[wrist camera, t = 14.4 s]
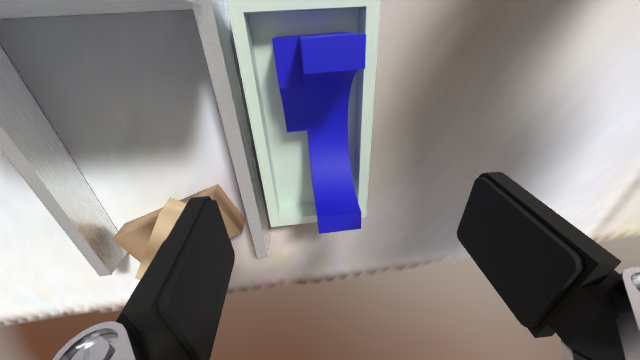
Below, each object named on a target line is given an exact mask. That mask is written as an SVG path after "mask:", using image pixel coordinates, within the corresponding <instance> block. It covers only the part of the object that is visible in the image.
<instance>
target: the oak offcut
mask: <svg viewBox="0 0 640 360" xmlns="http://www.w3.org/2000/svg"><path fill="white" fill-rule="evenodd" d="M186 204H187V203H184V202H181V201H178V200H175V199H172V198H170V199H169V200H168V202H167V203H166V204H165V206H164V207H163V209H162V210H161V212H160V213H159V215H158V218H157V221H156V223H155V226H154V229H153V231H152V234H151V237H150V240H149V242H148V245H147V248H146V250H145V253H144V256H143V259H142V261H141V264H140V267H139V269H138V272H137V275H136V277H135V278H136V279H141V278H142V277H143V275H144V273H145V271H146V270H147V268H148V266H149V265H150V263H151V261H152V260H153V258H154V256H155V255H156V253H157V251H158V250H159V248H160V246H161V244H162V243H163V242H164V240H165V239H166V238H167V237H168V235H169V233H170V232H171V230H172V228H173V226H174V225H175V223H176V221H177V220H178V218H179V216H180V214H181V213H182V211H183V209H184V208H185V206H186Z"/></svg>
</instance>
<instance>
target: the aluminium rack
mask: <svg viewBox="0 0 640 360" xmlns="http://www.w3.org/2000/svg"><path fill="white" fill-rule="evenodd" d="M192 9H193V10H194V14H195V18H196V22H197V26H198V30H199V34H200V38H201V42H202V45H203V49H204V53H205V57H206V61H207V65H208V69H209V73H210V76H211V80H212V84H213V88H214V92H215V96H216V100H217V104H218V108H219V111H220V115H221V119H222V123H223V127H224V131H225V135H226V139H227V142H228V146H229V150H230V154H231V158H232V162H233V166H234V170H235V174H236V177H237V181H238V185H239V189H240V193H241V197H242V201H243V205H244V208H245V212H246V216H247V220H248V224H249V228H250V232H251V236H252V239H253V243H254V247H255V251H256V255H257V258H266V257H268V254H269V243H270V231H269V226H268V221H267V216H266V211H265V206H264V201H263V196H262V191H261V187H260V182H259V177H258V172H257V167H256V162H255V157H254V152H253V147H252V142H251V137H250V133H249V128H248V123H247V118H246V113H245V108H244V103H243V98H242V93H241V88H240V83H239V79H238V74H237V69H236V64H235V59H234V54H233V49H232V44H231V39H230V34H229V29H228V24H227V20H226V15H225V10H224V5H223V0H0V19H4V18H25V17H46V16H66V15H87V14H108V13H129V12H150V11H171V10H192ZM0 149H1V151H2V152H3V153H4V154H5V156H6V157H7V158H8V160H9V161H10V162H11V163H12V165H13V166H14V167H15V169H16V170H17V171H18V172H19V174H20V175H21V176H22V178H23V179H24V180H25V181H26V183H27V184H28V185H29V186H30V188H31V189H32V190H33V192H34V193H35V194H36V195H37V197H38V198H39V199H40V201H41V202H42V203H43V204H44V206H45V207H46V208H47V210H48V211H49V212H50V213H51V215H52V216H53V217H54V219H55V220H56V221H57V222H58V224H59V225H60V226H61V227H62V229H63V230H64V231H65V233H66V234H67V235H68V236H69V238H70V239H71V240H72V242H73V243H74V244H75V245H76V247H77V248H78V249H79V251H80V252H81V253H82V254H83V256H84V257H85V258H86V260H87V261H88V262H89V263H90V265H91V266H92V267H93V268H94V270H95V271H96V272H97V274H98V275H99V276H106V275H112V273H113V272H114V270H115V269H116V268H117V266H118V265H119V263H120V262H121V261H122V259H123V258H124V257H125V255H126V254H127V251H126V250H124V249H123V248H122V247H121V246H119V245H118V244H117V243H116V242H114V241H113V240H112V238H113V237H114V236H115V235H116V234H117V233H118V231H117V229H116V228H115V226H114V224H113V223H112V221H111V220H110V218H109V217H108V215H107V213H106V212H105V210H104V209H103V207H102V205H101V204H100V202H99V201H98V199H97V198H96V196H95V194H94V193H93V191H92V190H91V188H90V186H89V185H88V183H87V182H86V180H85V178H84V177H83V175H82V174H81V172H80V171H79V169H78V167H77V166H76V164H75V163H74V161H73V159H72V158H71V156H70V155H69V153H68V152H67V150H66V148H65V147H64V145H63V144H62V142H61V140H60V139H59V137H58V136H57V134H56V133H55V131H54V129H53V128H52V126H51V125H50V123H49V121H48V120H47V118H46V117H45V115H44V113H43V112H42V110H41V109H40V107H39V106H38V104H37V102H36V101H35V99H34V98H33V96H32V94H31V93H30V91H29V90H28V88H27V87H26V85H25V83H24V82H23V80H22V79H21V77H20V75H19V74H18V72H17V71H16V69H15V68H14V66H13V64H12V63H11V61H10V60H9V58H8V56H7V55H6V53H5V52H4V50H3V48H2V47H1V45H0Z"/></svg>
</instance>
